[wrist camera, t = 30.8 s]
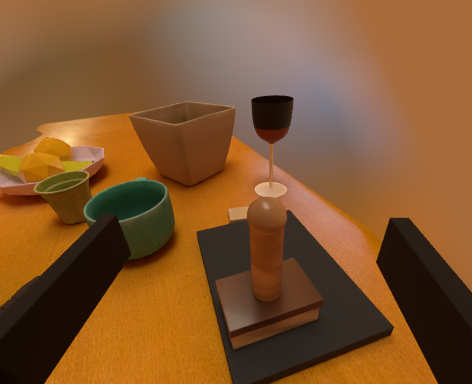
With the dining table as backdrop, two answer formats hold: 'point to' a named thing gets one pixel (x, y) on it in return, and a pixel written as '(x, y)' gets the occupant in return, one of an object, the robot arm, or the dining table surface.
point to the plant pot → (66, 194)
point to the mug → (136, 213)
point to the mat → (301, 337)
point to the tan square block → (237, 214)
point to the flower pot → (186, 139)
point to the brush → (267, 282)
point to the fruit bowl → (46, 165)
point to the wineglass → (271, 133)
